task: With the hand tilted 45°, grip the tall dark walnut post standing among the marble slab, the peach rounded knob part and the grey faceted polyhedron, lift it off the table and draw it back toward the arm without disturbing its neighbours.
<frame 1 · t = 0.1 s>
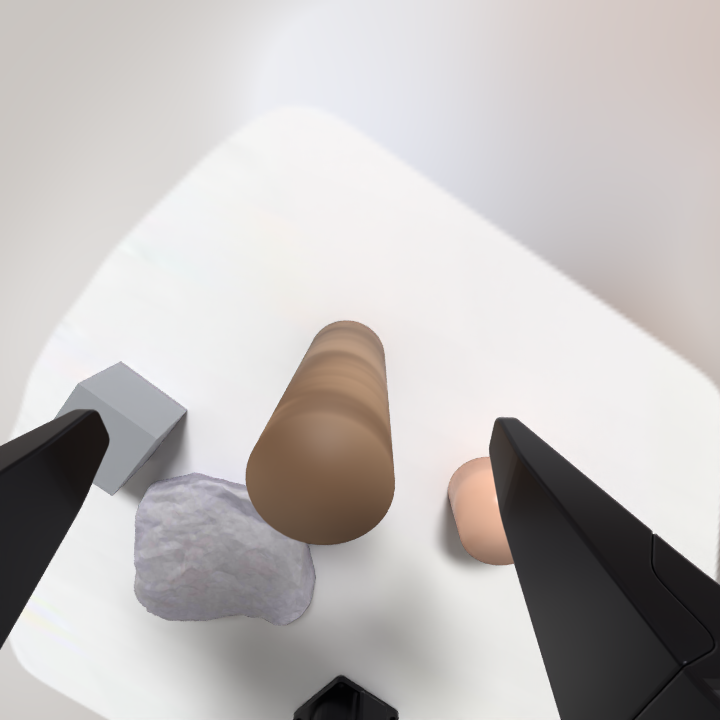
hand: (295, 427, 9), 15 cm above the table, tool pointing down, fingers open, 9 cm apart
grey faceted polyhedron: (135, 412, 27), on the table
walnut post: (346, 357, 25), on the table
stone block: (235, 523, 30), on the table
peach rounded knob part: (485, 489, 28), on the table
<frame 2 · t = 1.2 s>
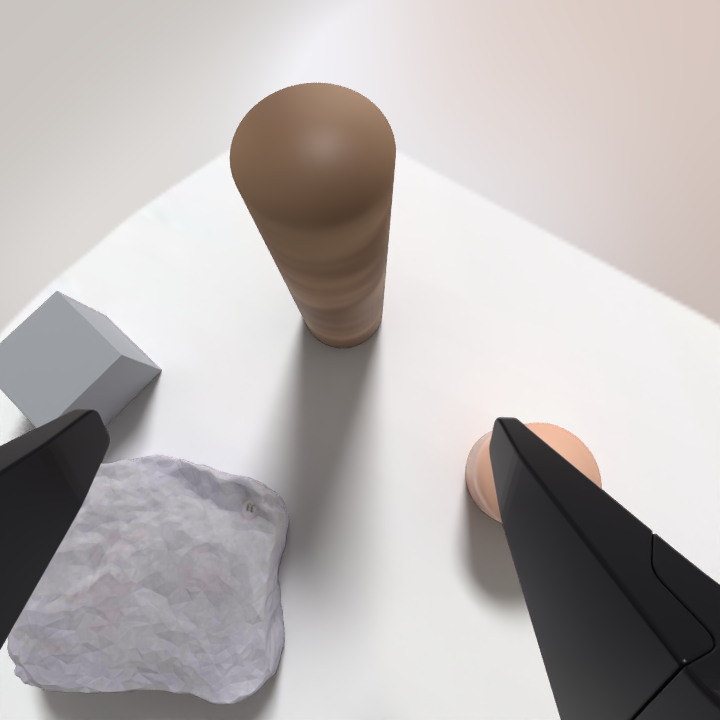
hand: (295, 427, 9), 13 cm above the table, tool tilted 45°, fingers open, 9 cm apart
grey faceted polyhedron: (102, 374, 24), on the table
walnut post: (343, 309, 24), on the table
stone block: (183, 550, 22), on the table
peach rounded knob part: (512, 475, 22), on the table
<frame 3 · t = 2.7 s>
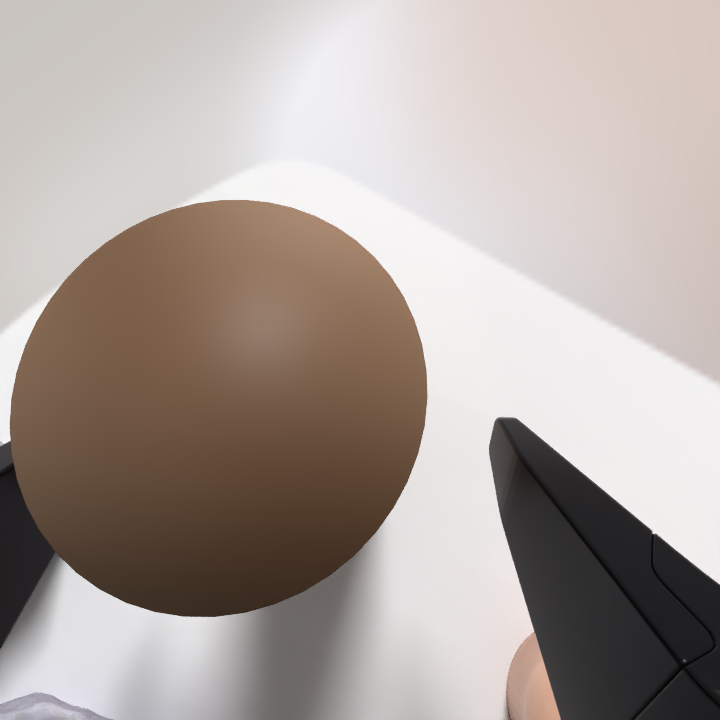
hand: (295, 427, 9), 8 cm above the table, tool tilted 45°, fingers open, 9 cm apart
walnut post: (330, 436, 17), on the table
peach rounded knob part: (575, 697, 15), on the table
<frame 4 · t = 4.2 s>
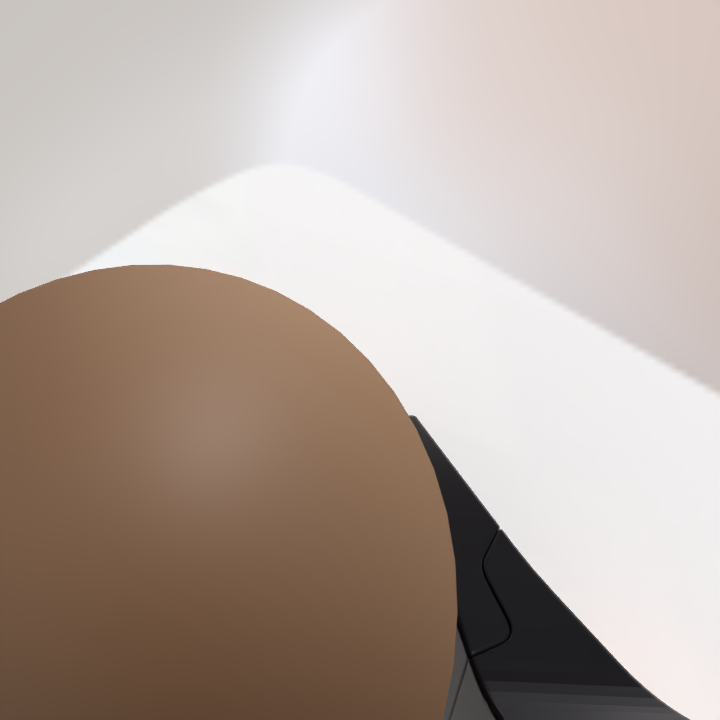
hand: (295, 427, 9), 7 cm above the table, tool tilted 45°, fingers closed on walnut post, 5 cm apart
walnut post: (325, 474, 15), on the table, touching gripper
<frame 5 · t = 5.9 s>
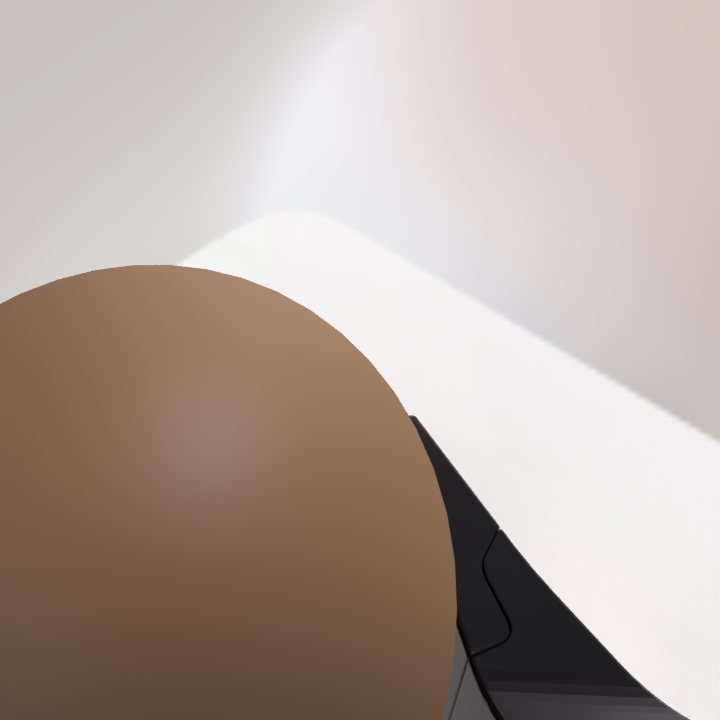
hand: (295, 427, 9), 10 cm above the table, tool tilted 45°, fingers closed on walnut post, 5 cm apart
walnut post: (325, 474, 15), point 4 cm above the table, touching gripper
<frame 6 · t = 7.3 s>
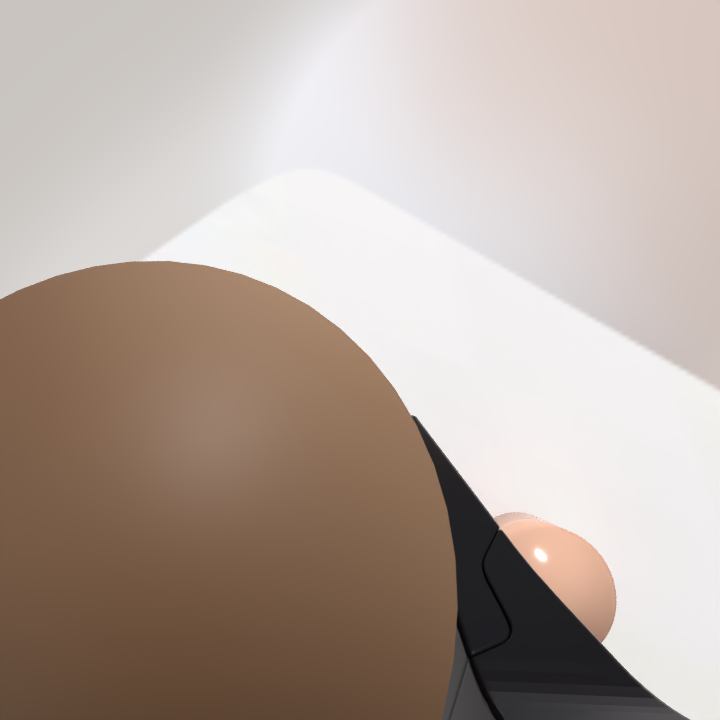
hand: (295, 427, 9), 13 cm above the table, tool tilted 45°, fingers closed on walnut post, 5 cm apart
walnut post: (324, 474, 15), point 7 cm above the table, touching gripper
peach rounded knob part: (519, 564, 21), on the table
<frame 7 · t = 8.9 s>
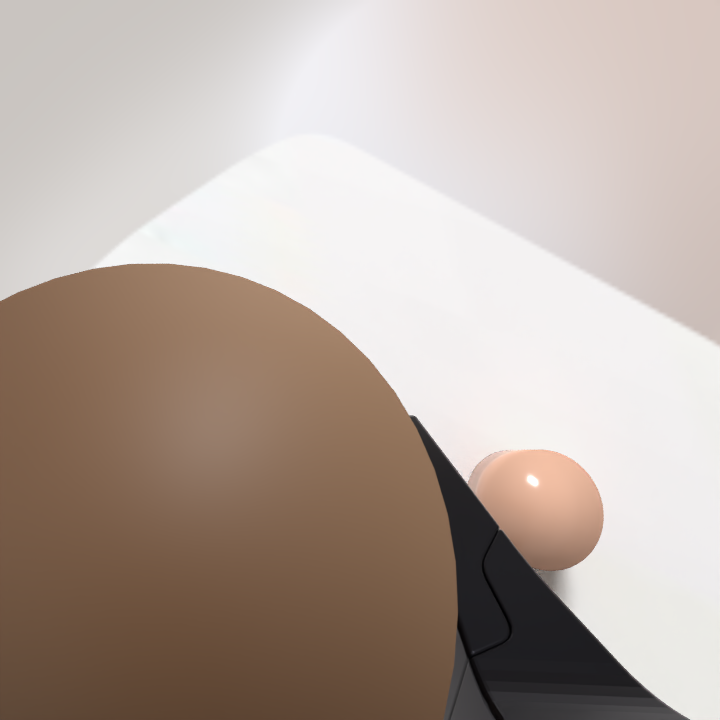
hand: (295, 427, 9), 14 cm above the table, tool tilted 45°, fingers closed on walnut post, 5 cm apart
walnut post: (324, 474, 15), point 7 cm above the table, touching gripper
peach rounded knob part: (513, 498, 22), on the table
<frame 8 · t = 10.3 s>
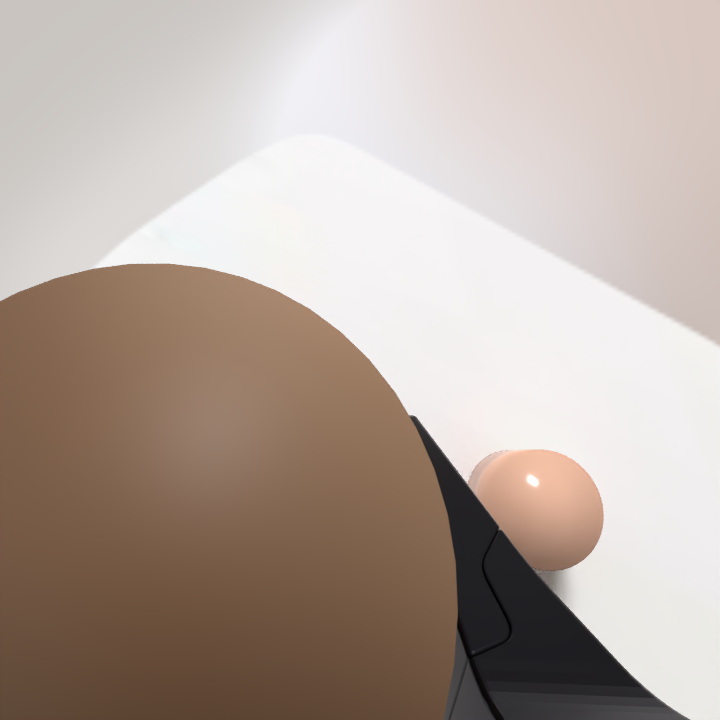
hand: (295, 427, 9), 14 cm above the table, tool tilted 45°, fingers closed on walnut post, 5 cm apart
walnut post: (324, 474, 15), point 7 cm above the table, touching gripper
peach rounded knob part: (513, 498, 22), on the table
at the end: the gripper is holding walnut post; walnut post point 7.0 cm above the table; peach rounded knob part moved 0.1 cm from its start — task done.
